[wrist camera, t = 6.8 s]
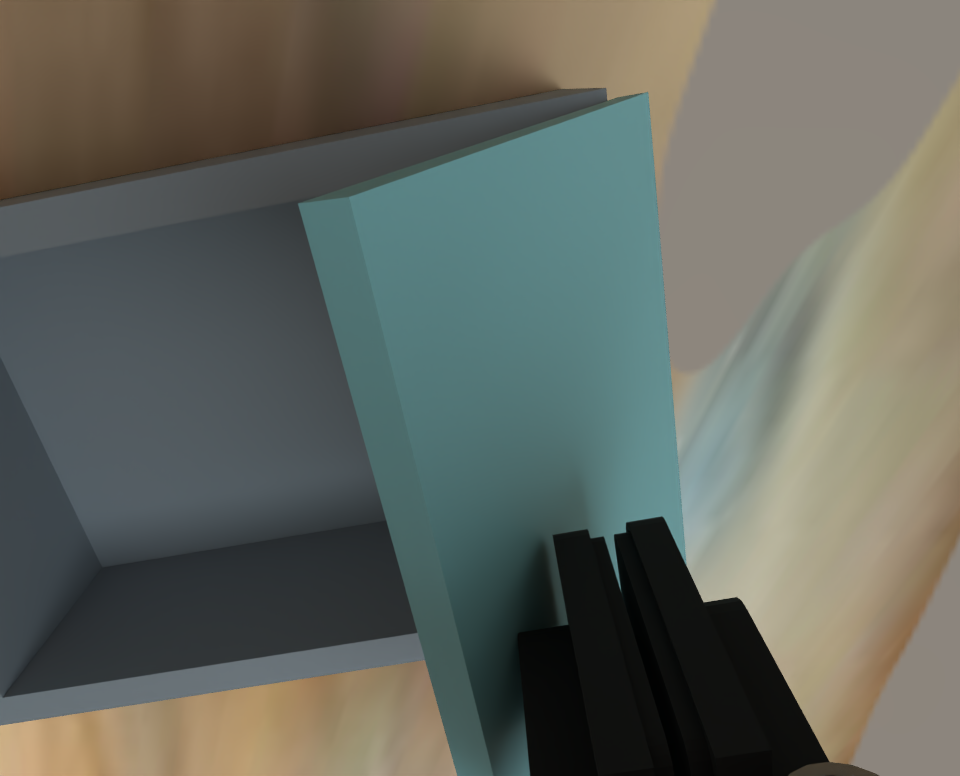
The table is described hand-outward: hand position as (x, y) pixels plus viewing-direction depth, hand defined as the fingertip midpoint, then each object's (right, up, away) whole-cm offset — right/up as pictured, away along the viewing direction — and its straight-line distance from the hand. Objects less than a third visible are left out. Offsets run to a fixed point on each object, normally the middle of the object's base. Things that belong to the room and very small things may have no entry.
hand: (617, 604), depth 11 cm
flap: (0, +1, +2) cm, 2 cm away
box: (-8, +4, +13) cm, 16 cm away
